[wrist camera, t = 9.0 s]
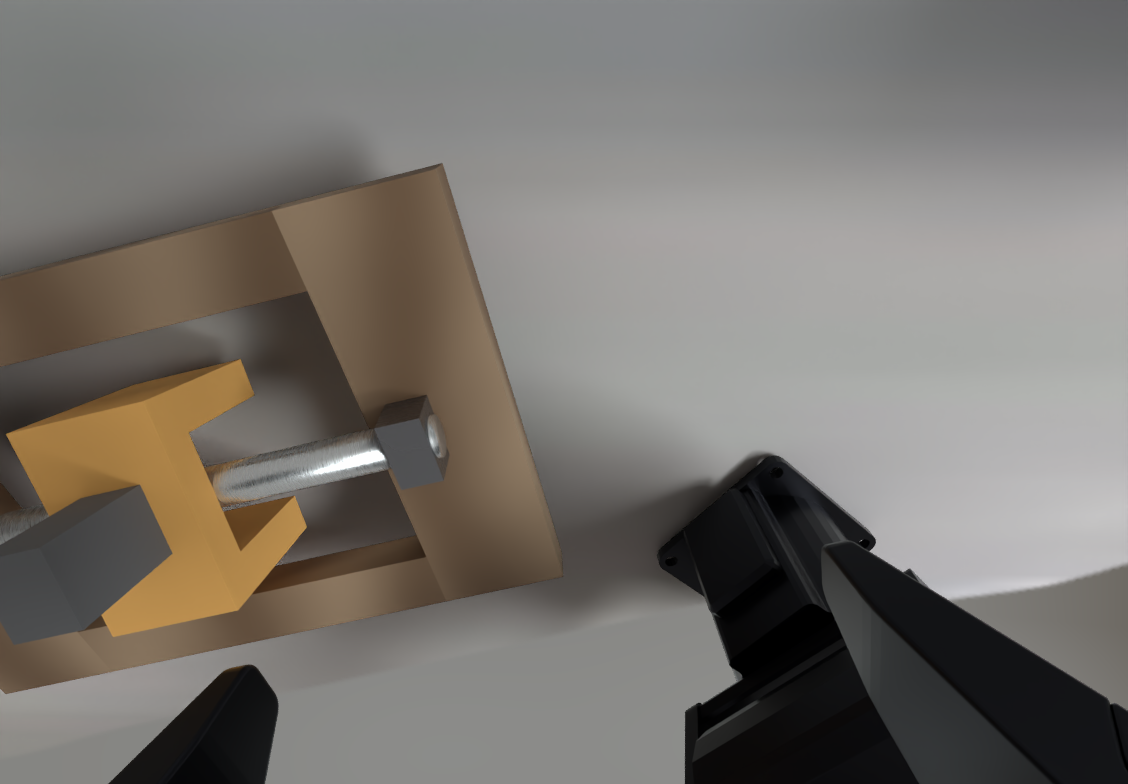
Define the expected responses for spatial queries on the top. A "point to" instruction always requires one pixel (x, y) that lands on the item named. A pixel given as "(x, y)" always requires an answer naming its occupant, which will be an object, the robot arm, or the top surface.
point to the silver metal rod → (318, 462)
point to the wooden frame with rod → (376, 376)
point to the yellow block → (136, 515)
